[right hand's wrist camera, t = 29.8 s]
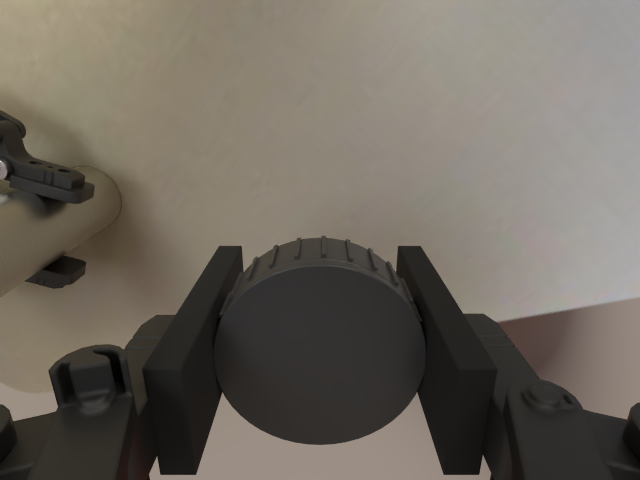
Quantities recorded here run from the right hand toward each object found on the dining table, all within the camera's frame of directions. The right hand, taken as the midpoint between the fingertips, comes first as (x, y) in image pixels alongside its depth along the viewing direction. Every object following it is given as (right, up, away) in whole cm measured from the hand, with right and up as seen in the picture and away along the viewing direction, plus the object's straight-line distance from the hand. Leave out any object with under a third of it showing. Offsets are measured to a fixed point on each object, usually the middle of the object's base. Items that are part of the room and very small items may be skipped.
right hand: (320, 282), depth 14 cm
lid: (0, -1, -4) cm, 4 cm away
